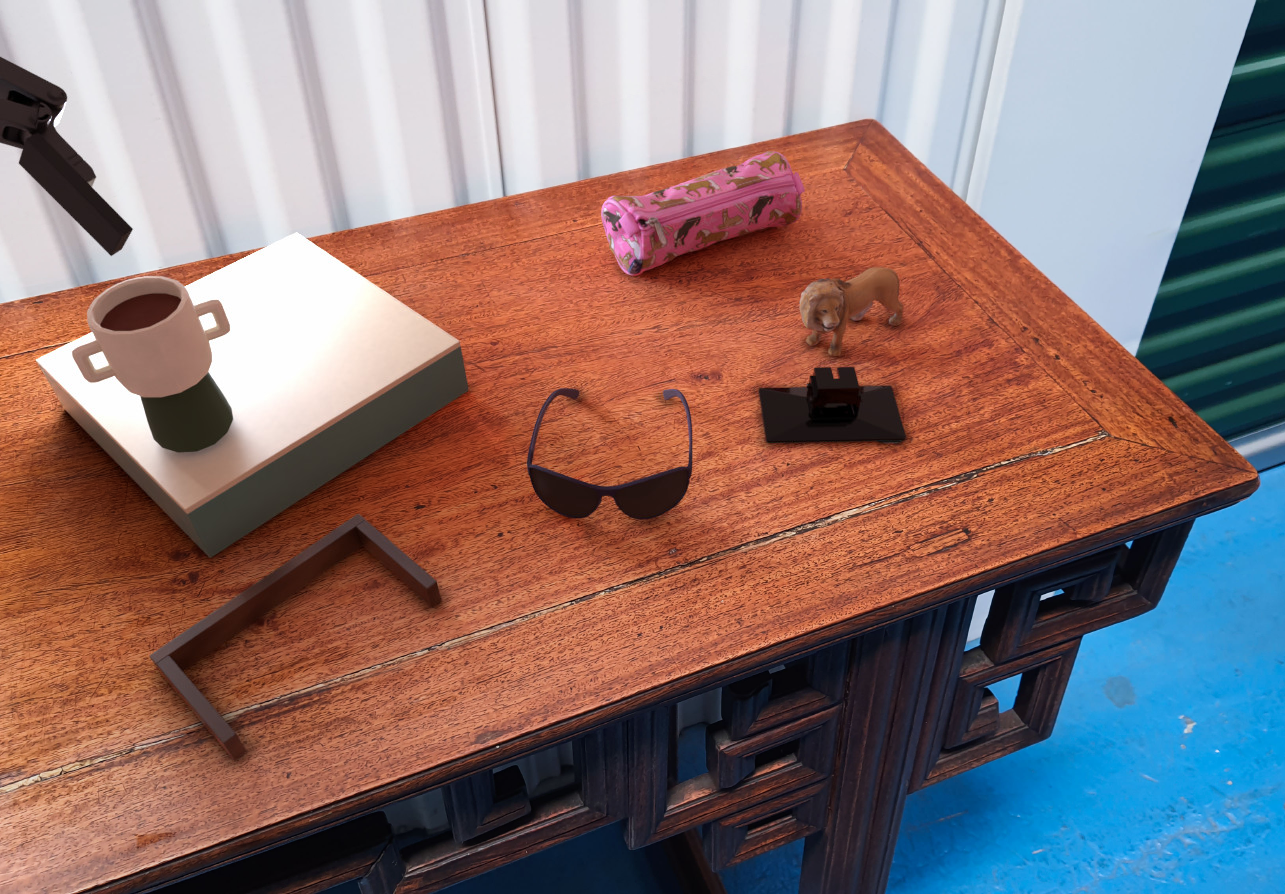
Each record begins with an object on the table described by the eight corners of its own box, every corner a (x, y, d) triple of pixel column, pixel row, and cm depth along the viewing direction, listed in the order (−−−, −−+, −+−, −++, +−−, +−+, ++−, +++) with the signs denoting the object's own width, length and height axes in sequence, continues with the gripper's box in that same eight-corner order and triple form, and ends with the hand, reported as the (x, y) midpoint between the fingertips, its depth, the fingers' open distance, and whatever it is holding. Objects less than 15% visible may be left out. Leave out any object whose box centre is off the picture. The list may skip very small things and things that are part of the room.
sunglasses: (526, 523, 82) (520, 483, 78) (544, 394, 93) (540, 353, 89) (692, 526, 81) (693, 485, 78) (690, 395, 92) (691, 354, 89)
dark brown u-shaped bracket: (234, 761, 67) (223, 743, 65) (161, 674, 72) (148, 655, 70) (442, 600, 76) (437, 581, 75) (364, 532, 81) (358, 512, 79)
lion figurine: (821, 383, 93) (833, 306, 87) (778, 356, 96) (787, 280, 90) (915, 316, 100) (932, 240, 94) (872, 292, 103) (887, 218, 97)
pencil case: (635, 296, 103) (633, 223, 97) (596, 251, 109) (592, 179, 103) (806, 240, 110) (815, 168, 104) (761, 201, 116) (767, 130, 109)
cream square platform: (210, 558, 80) (184, 509, 75) (63, 408, 92) (34, 359, 88) (469, 390, 93) (460, 340, 89) (311, 280, 106) (296, 232, 102)
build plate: (890, 389, 93) (899, 350, 90) (906, 444, 88) (916, 406, 85) (758, 390, 93) (762, 352, 89) (766, 445, 88) (771, 407, 84)
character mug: (247, 382, 85) (197, 255, 76) (276, 429, 81) (227, 301, 72) (117, 433, 81) (47, 305, 72) (140, 486, 77) (69, 357, 68)
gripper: (-107, -78, 55) (180, 221, 61) (-682, 113, 40) (-227, 488, 46) (-98, -176, 50) (217, 163, 56) (-762, 2, 35) (-233, 445, 40)
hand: (17, 311), depth 51 cm, fingers open, 13 cm apart
